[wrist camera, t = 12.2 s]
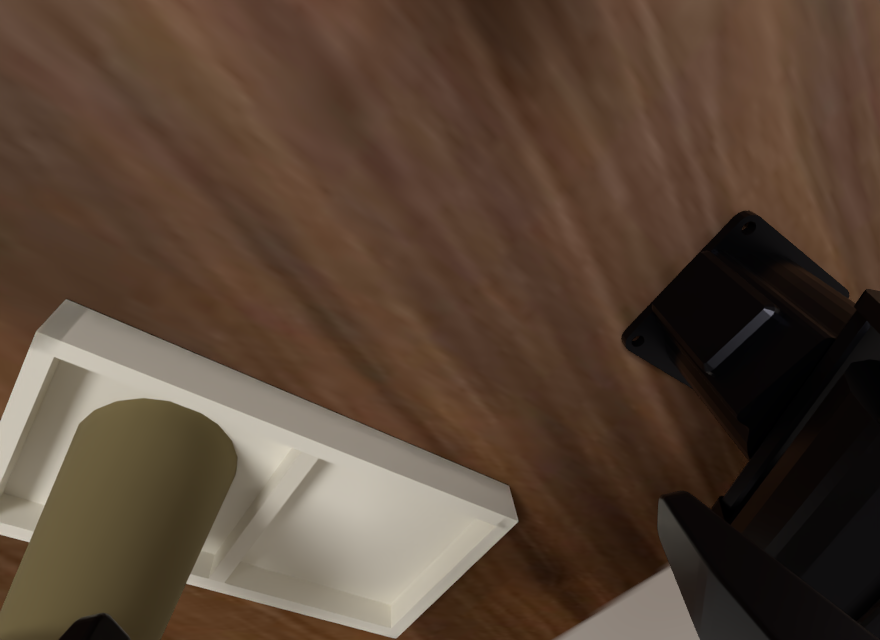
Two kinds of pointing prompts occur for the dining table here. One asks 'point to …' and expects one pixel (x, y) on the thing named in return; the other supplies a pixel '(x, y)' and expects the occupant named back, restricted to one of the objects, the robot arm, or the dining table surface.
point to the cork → (122, 521)
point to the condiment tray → (262, 479)
